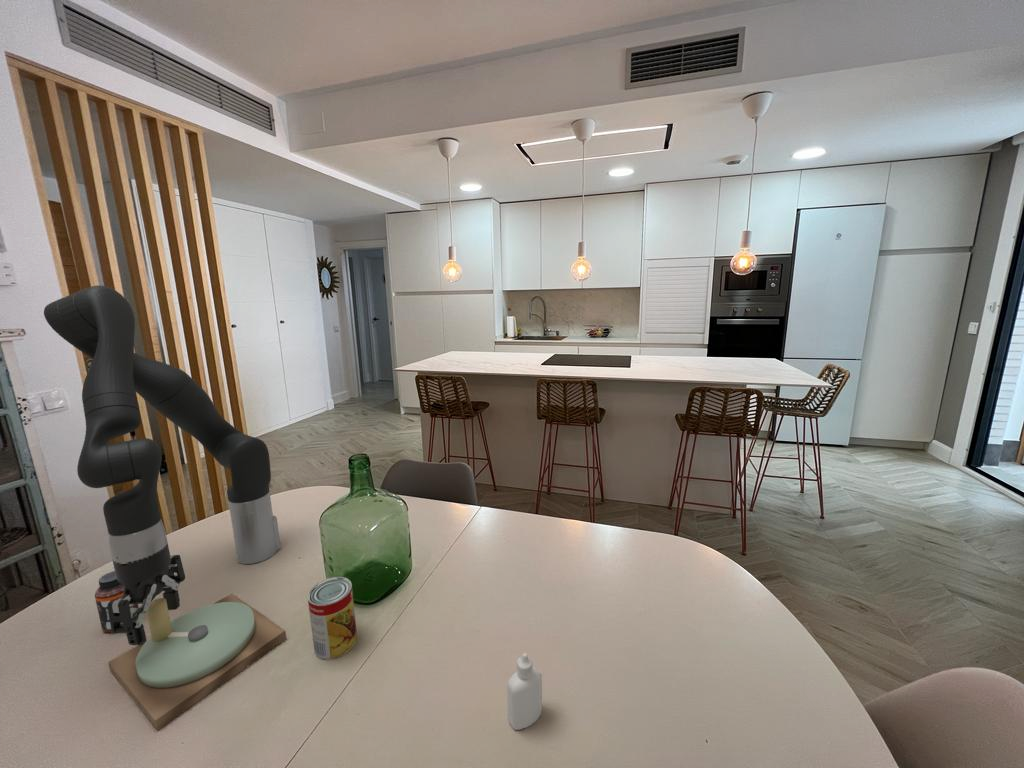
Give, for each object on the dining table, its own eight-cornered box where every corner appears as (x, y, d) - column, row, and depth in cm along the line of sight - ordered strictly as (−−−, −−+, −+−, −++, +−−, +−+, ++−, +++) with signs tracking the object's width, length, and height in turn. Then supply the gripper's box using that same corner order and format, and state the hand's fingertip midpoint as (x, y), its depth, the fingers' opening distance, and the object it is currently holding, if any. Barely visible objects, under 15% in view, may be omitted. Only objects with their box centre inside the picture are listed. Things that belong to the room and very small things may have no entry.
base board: (233, 600, 94) (231, 592, 93) (286, 638, 83) (285, 629, 83) (110, 671, 76) (107, 660, 76) (157, 730, 65) (154, 719, 65)
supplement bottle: (117, 636, 84) (105, 587, 82) (94, 631, 85) (82, 583, 83) (148, 614, 90) (138, 568, 88) (126, 610, 91) (115, 565, 89)
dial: (273, 610, 88) (268, 572, 86) (212, 688, 70) (203, 643, 68) (190, 609, 88) (183, 572, 86) (108, 687, 70) (97, 642, 69)
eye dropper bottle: (507, 704, 69) (506, 643, 67) (540, 703, 69) (541, 642, 67) (508, 731, 65) (507, 667, 62) (543, 729, 65) (544, 666, 63)
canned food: (365, 633, 84) (360, 581, 82) (337, 664, 77) (331, 609, 75) (334, 623, 87) (328, 573, 84) (304, 653, 80) (297, 599, 77)
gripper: (148, 527, 81) (163, 599, 84) (80, 575, 67) (101, 659, 70) (189, 525, 82) (202, 597, 85) (130, 572, 68) (148, 655, 71)
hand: (156, 625), depth 78 cm, fingers open, 8 cm apart
